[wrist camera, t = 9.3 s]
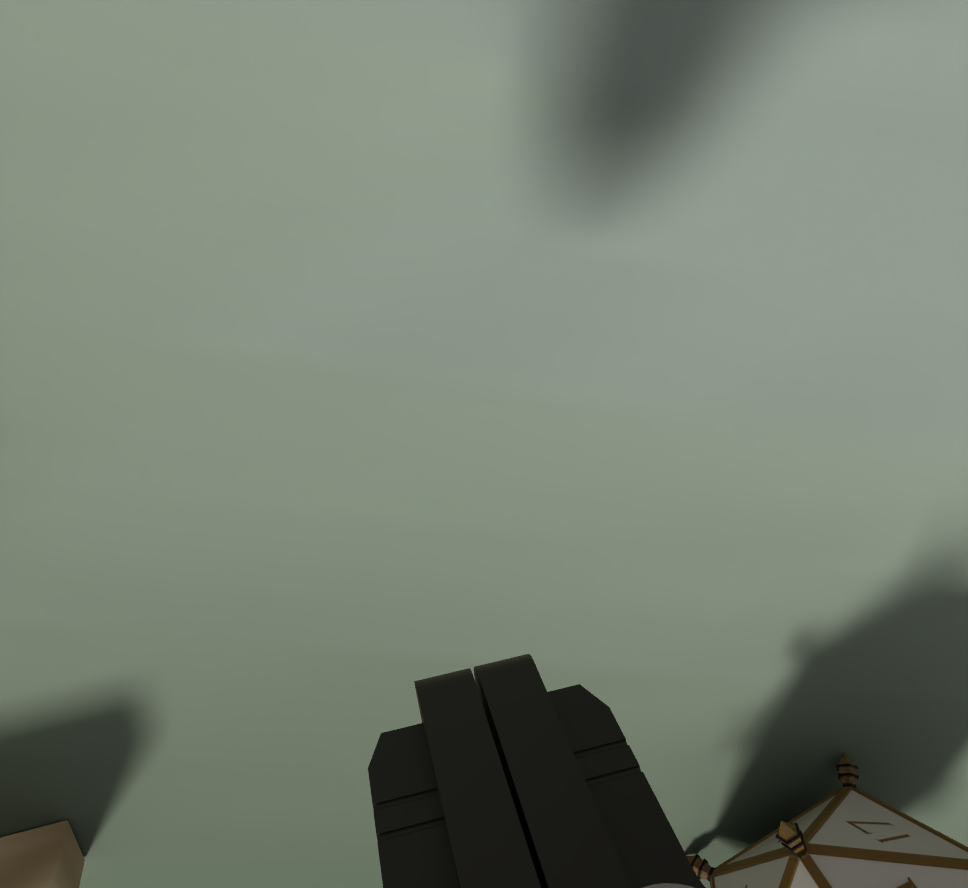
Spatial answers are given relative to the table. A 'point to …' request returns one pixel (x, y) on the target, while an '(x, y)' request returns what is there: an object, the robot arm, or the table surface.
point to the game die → (845, 849)
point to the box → (41, 858)
